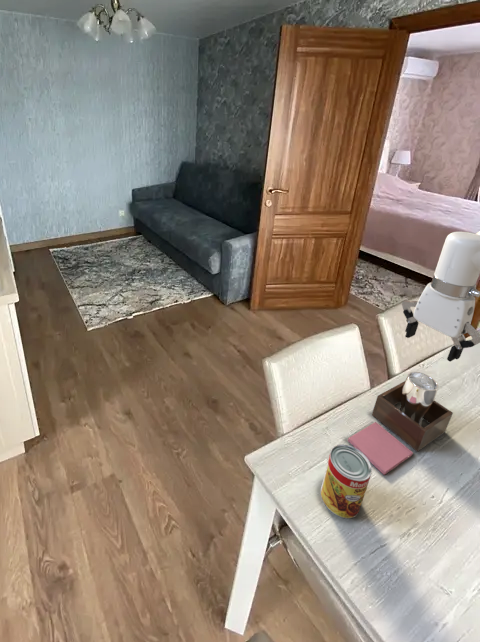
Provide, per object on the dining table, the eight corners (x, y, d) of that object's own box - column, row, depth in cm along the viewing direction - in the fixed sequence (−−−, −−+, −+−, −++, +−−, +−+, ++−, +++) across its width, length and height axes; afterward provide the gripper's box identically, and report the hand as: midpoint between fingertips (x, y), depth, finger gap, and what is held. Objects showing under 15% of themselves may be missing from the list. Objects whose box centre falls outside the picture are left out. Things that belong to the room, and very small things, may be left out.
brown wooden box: (398, 399, 102) (405, 380, 99) (444, 432, 91) (453, 412, 89) (371, 414, 96) (377, 395, 94) (417, 451, 86) (425, 431, 84)
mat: (374, 424, 93) (375, 421, 93) (412, 455, 85) (413, 452, 85) (347, 440, 89) (348, 438, 88) (384, 475, 81) (385, 472, 80)
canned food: (352, 527, 71) (365, 489, 66) (314, 499, 75) (324, 462, 71) (364, 497, 76) (376, 460, 71) (328, 473, 81) (337, 437, 76)
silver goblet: (393, 408, 98) (407, 367, 93) (423, 420, 95) (439, 378, 89) (391, 425, 93) (406, 382, 87) (422, 439, 89) (439, 395, 84)
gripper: (507, 300, 73) (479, 364, 79) (421, 267, 87) (403, 324, 93) (489, 308, 69) (461, 375, 76) (403, 273, 84) (386, 332, 90)
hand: (429, 347), depth 85 cm, fingers open, 9 cm apart
